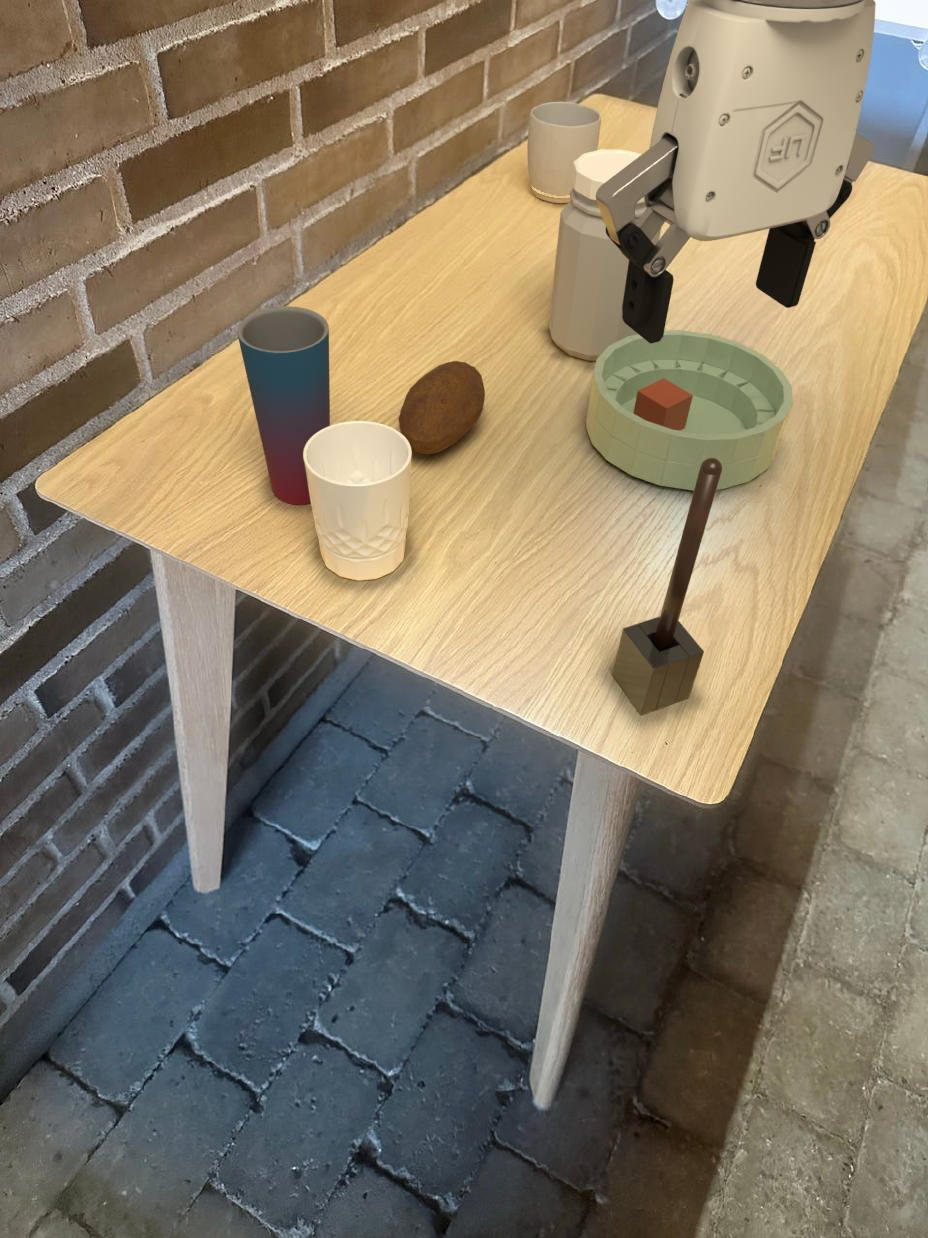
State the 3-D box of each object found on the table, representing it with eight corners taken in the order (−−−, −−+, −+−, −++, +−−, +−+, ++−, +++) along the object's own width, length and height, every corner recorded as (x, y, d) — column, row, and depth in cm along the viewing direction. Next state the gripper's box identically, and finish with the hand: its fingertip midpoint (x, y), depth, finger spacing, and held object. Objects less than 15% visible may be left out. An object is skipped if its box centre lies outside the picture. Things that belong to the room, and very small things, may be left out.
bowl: (703, 370, 96) (716, 316, 92) (813, 468, 85) (834, 412, 81) (552, 406, 91) (559, 350, 87) (649, 515, 80) (662, 458, 76)
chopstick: (652, 678, 67) (716, 451, 53) (661, 690, 67) (728, 463, 52) (638, 683, 67) (698, 456, 53) (647, 695, 66) (710, 468, 52)
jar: (635, 371, 96) (669, 192, 83) (541, 358, 97) (559, 179, 84) (642, 324, 102) (674, 151, 89) (553, 312, 103) (572, 140, 90)
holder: (658, 659, 69) (671, 611, 65) (689, 698, 66) (704, 651, 63) (611, 675, 68) (622, 628, 64) (641, 716, 65) (654, 669, 61)
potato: (381, 464, 84) (379, 397, 79) (430, 397, 91) (430, 332, 86) (452, 483, 82) (454, 416, 77) (495, 413, 90) (500, 348, 85)
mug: (574, 213, 121) (584, 131, 114) (512, 198, 124) (518, 116, 117) (611, 180, 129) (623, 101, 122) (552, 166, 132) (560, 88, 125)
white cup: (432, 552, 76) (433, 451, 69) (361, 602, 72) (355, 500, 64) (365, 508, 79) (359, 407, 72) (293, 553, 75) (280, 451, 68)
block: (656, 410, 90) (663, 377, 87) (685, 427, 88) (693, 394, 85) (631, 423, 88) (637, 390, 86) (659, 441, 86) (666, 408, 84)
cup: (356, 480, 82) (347, 323, 71) (307, 522, 78) (289, 362, 67) (296, 453, 84) (277, 297, 73) (245, 492, 80) (217, 333, 69)
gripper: (680, 2, 37) (621, 379, 50) (988, -35, 43) (867, 312, 55) (582, -38, 42) (550, 316, 54) (872, -67, 48) (783, 260, 60)
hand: (710, 313), depth 55 cm, fingers open, 9 cm apart
